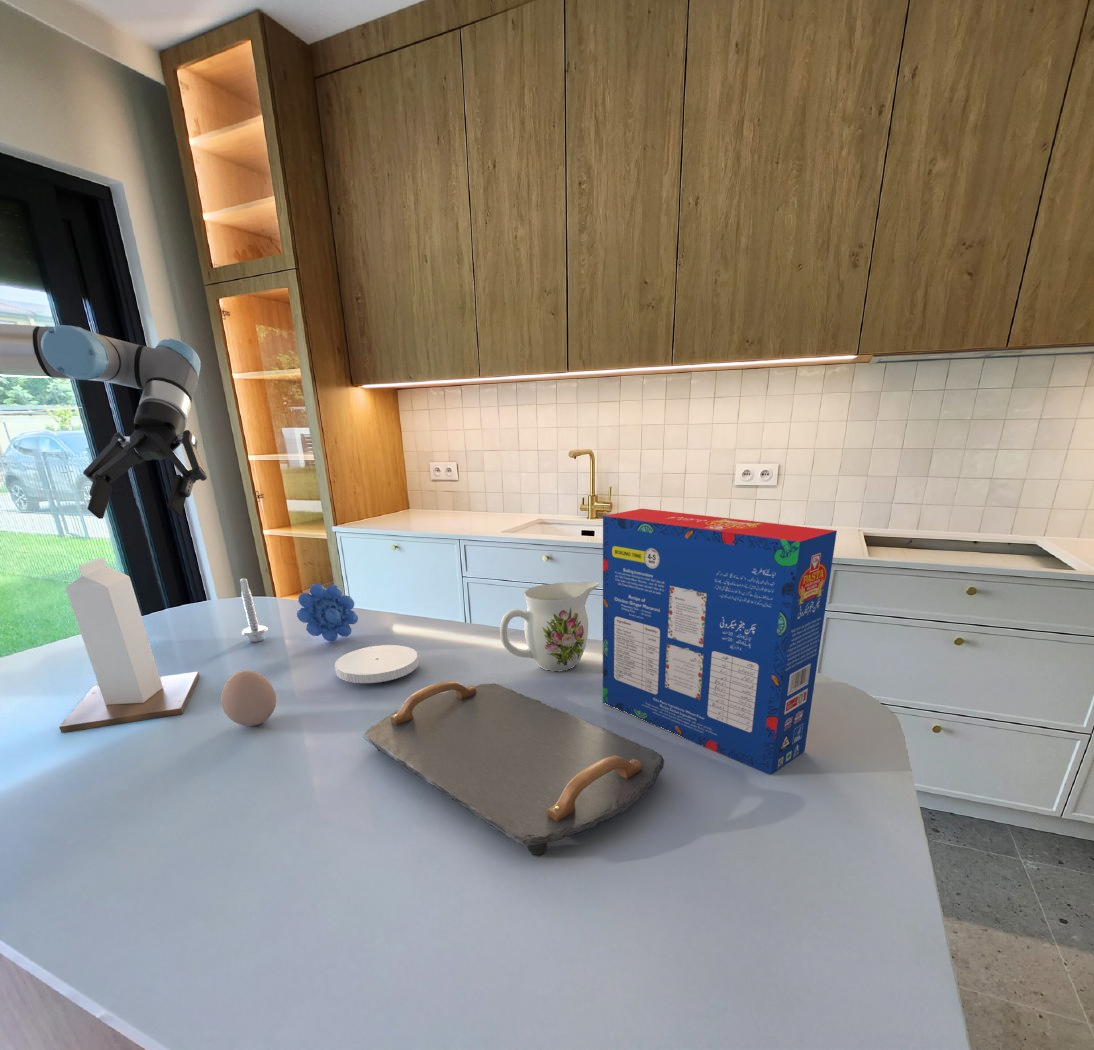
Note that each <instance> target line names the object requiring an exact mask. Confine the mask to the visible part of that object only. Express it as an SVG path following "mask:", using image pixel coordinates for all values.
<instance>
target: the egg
mask: <svg viewBox="0 0 1094 1050" xmlns="http://www.w3.org/2000/svg"><path fill="white" fill-rule="evenodd" d="M224 683H225V684H224V686H223V688H222V692H221V696H220V700H221V707H222V710H223V712H224V714H225V716H226V717H227V718H228V719H229V720H231V721H233V723H235V724H238V725H240V726H244V727H254V726H255V727H256V726H258V725H262V724H263V723H264V722H266V721H267V720H268V719H269V718H270V717H271V716H272V714H273V713H274V710H275V709H276V706H277V695H276V691H275V689H274V687H273V685H272V684H271V682H270V681H269V680H268V679H267V678H266V677H265V676H263V675H262V674H260V673H259V672H256V671H254V670H249V669H248V670H247V669H245V670H244V669H243V670H240V671H237V672H235V673H233V674H232V675H231V676H230V677H229V678H228V679H227V680H226V681H225V682H224Z"/></svg>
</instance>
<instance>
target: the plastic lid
mask: <svg viewBox="0 0 1094 1050" xmlns="http://www.w3.org/2000/svg"><path fill="white" fill-rule="evenodd" d="M419 661H420V660H419V654H418V652H417V650H415V649H413V648H412V647H409V646H407V645H406V646H405V645H398V644H397V645H396V644H383V645H382V644H381V645H372V646H366V647H362V648H357V649H354V650H352V651H350V652H347V653H345V654H343V655H341V656H340V657H339V658H337V659H336V660H335V662H334V669H335V674H336V676H337V678H339V679H340V680H342V681H345V682H347V683H353V684H374V683H382V682H389V681H392V680H396V679H399V678H403V677H405V676H407V675H409V674H411V673H412V672H413V671H415V670H416V669H417V668H418V667H419V664H420V662H419Z"/></svg>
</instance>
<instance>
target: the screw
mask: <svg viewBox="0 0 1094 1050" xmlns="http://www.w3.org/2000/svg"><path fill="white" fill-rule="evenodd" d="M239 584H240V588H241V598H242V600H243V606H244V609H245V610H244V611H245V612H246V613H245V614H246V617H247V623H248V627H246V628H244V629H243V630H242V631H241V635H242V636H246V637H248V639H249V640H248V641H249V642H251V643H258V642H262V641H264V639H265V638H264V634H265V633H267V632H268V631H269V629H268V627H266V626H265V625H259V621H258V618H257V613H256V610H255V609H256V607H255V604H254V601H253V600H254V598H253V595H252V592H251V589H250V586H249V583H248V579H247V578H244V577H242V578H241V579H239Z"/></svg>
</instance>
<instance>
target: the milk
mask: <svg viewBox="0 0 1094 1050" xmlns="http://www.w3.org/2000/svg"><path fill="white" fill-rule="evenodd" d="M78 569H79V573H80V576H79V577H77V579H75V580H73V582H70V584H68V585H67V586H66V587H65V588H64V590H65V592H66V595H67V597H68V601H69V603H70V607H71V610H72V612H73V615H74V618H75V621H76V625H77V627H78V630H79V634H80V635H81V638H82V641H83V644H84V647H85V650H86V652H87V656H88V658H89V661H90V664H91V667H92V670H93V673H94V675H95V679H96V682H97V685H99V688H100V691H101V694H102V696H103V699H104V702H105V704H106V705H112V704H132V703H144V702H145V701H147V700H148V699H149V698H150V697H152V696H153V695H154V694H155V693H157V692H158V691H159V690H161V689H162V688H163V686H162V682H161V679H160V677H161V676H160V673H159V669H158V665H157V663H156V659H155V656H154V653H153V650H152V646H151V643H150V640H149V639H150V638H149V636H148V633H147V629H146V626H145V623H144V620H143V617H142V613H141V609H140V606H139V603H138V599H137V597H136V593H135V589H134V587H133V583H132V580H131V577H130V576H129V575H127V574H125V573H123V572H120V571H118V570H116V569H114V568H111V567H109V566H108V564H107V561H106V559H105V557H104V556H101V557H97V558H95V559H93V560H89V561H87V562H84V563H81V564H79V565H78Z"/></svg>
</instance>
